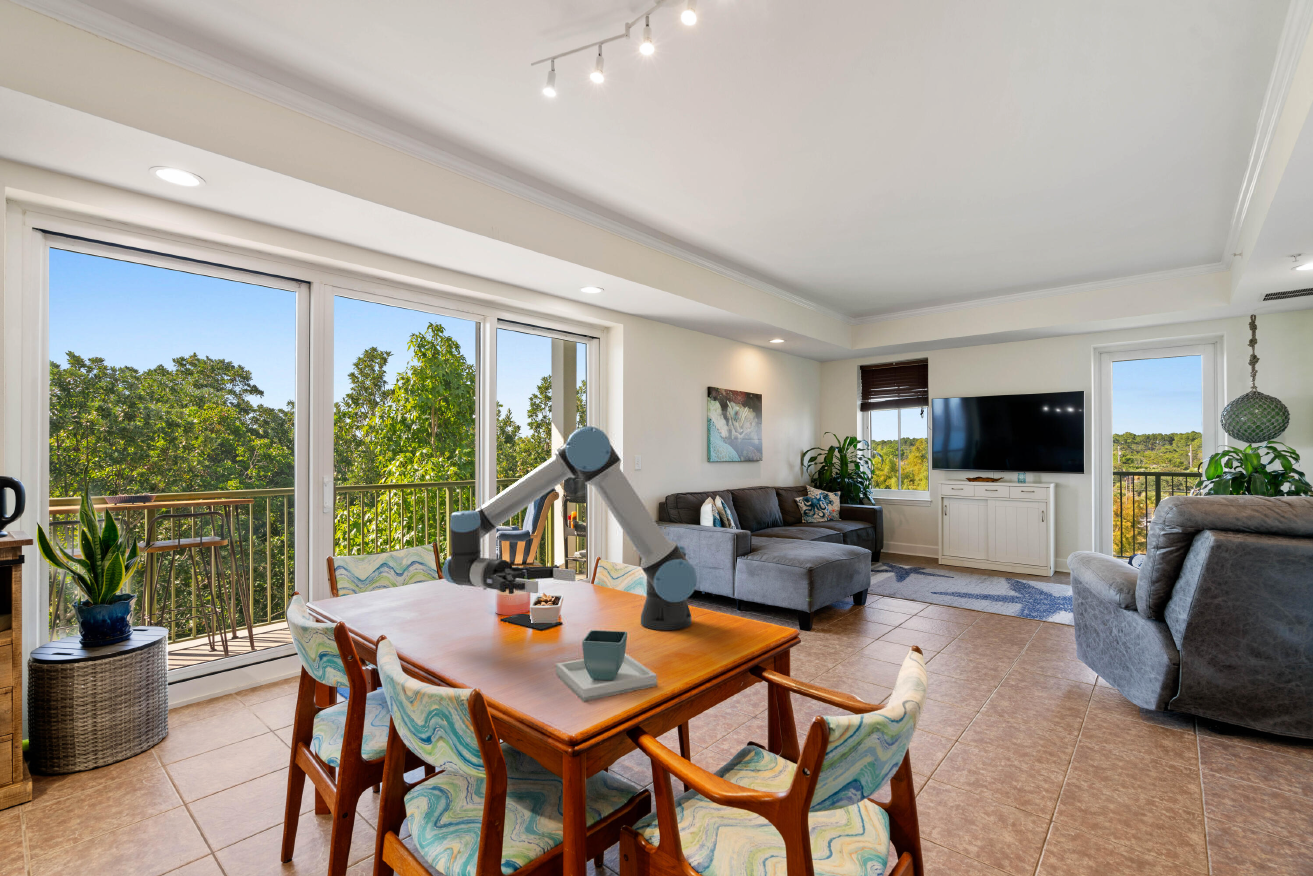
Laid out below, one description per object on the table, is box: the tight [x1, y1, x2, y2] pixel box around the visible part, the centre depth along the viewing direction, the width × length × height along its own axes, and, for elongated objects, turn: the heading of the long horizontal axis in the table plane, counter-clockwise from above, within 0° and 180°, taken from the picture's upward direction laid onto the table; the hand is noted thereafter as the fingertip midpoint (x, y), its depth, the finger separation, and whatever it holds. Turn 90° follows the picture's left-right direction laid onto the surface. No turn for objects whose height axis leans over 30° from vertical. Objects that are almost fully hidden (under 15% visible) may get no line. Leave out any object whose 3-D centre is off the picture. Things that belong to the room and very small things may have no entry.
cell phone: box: [499, 613, 563, 632], centre depth 182 cm, size 9×18×1 cm, turn 54°
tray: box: [555, 653, 658, 702], centre depth 136 cm, size 17×17×2 cm
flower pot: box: [581, 629, 628, 680], centre depth 136 cm, size 9×9×9 cm
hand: (556, 581), depth 145 cm, fingers open, 13 cm apart
